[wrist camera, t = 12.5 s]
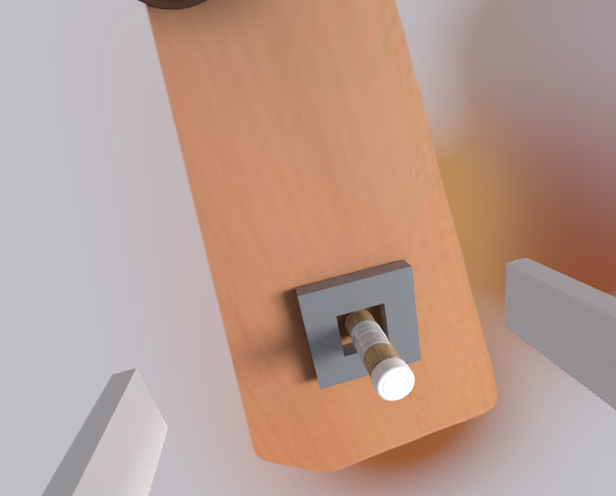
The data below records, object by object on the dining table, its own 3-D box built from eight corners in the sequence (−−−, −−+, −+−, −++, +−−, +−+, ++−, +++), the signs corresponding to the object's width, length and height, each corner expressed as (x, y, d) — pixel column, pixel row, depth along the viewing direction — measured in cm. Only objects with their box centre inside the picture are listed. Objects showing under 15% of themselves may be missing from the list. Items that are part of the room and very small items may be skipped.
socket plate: (295, 288, 44) (297, 296, 41) (403, 259, 45) (411, 266, 43) (316, 377, 49) (320, 389, 47) (412, 349, 51) (420, 359, 48)
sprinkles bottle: (370, 334, 48) (411, 401, 36) (341, 334, 48) (373, 403, 35) (374, 307, 47) (419, 367, 34) (345, 307, 46) (380, 369, 34)
